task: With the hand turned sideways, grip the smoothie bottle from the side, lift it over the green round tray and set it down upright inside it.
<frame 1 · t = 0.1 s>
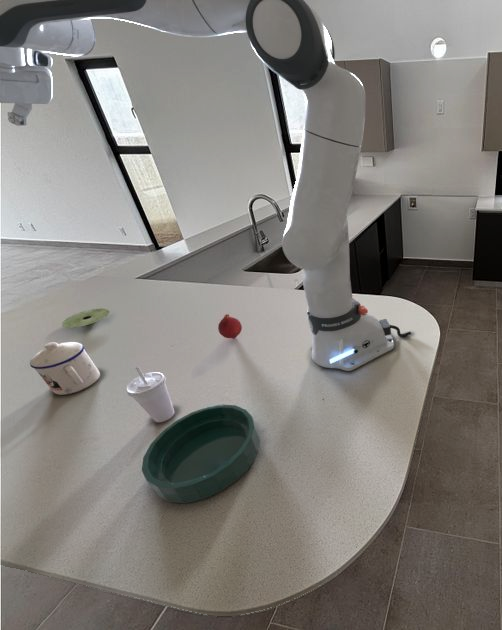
onion: (234, 338, 97), on the worktop
green round tray: (210, 458, 63), on the worktop
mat: (89, 323, 104), on the worktop
smoothie: (164, 416, 72), on the worktop
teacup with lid: (80, 385, 80), on the worktop
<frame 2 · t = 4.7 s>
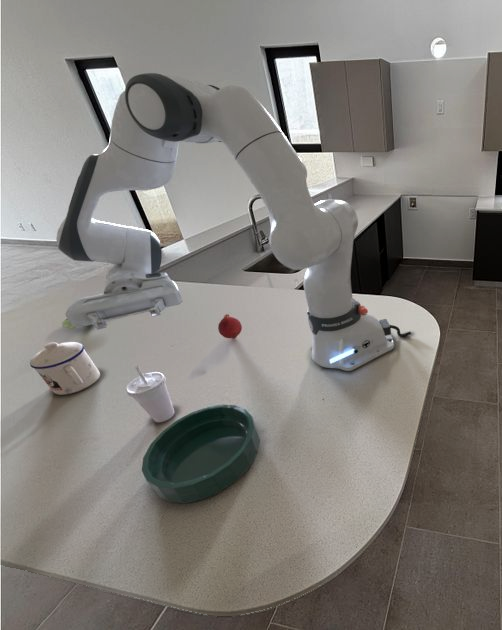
hand: (128, 319, 71), 18 cm above the worktop, tool horizontal, fingers open, 8 cm apart
nothing on the worktop moved.
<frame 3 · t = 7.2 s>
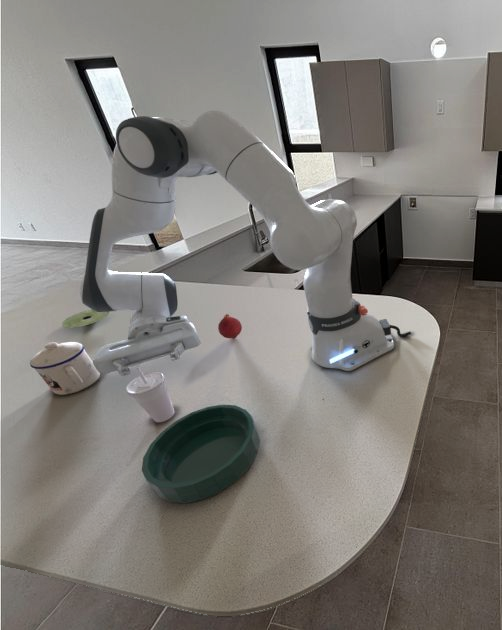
hand: (150, 364, 74), 8 cm above the worktop, tool horizontal, fingers open, 8 cm apart
nothing on the worktop moved.
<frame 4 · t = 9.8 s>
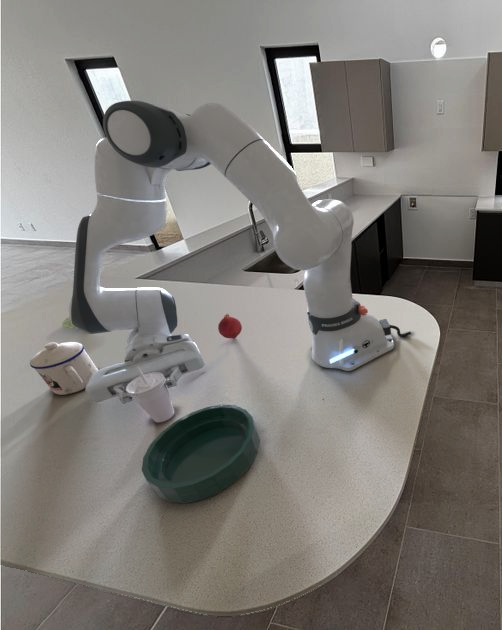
hand: (149, 392, 67), 8 cm above the worktop, tool horizontal, fingers closed on smoothie, 6 cm apart
smoothie: (164, 416, 72), on the worktop, touching gripper
everything else where it was.
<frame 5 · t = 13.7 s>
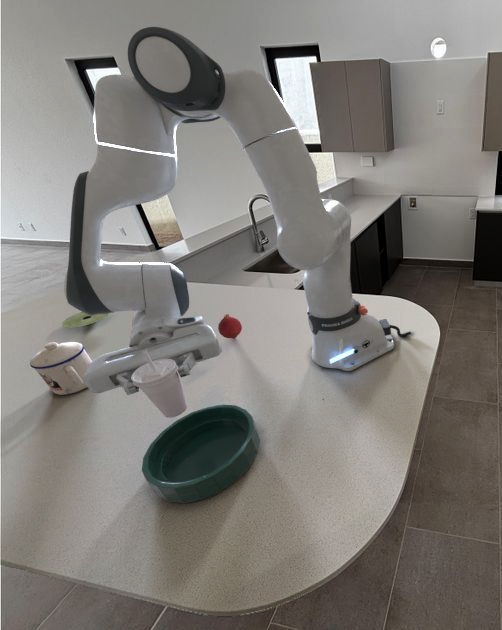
hand: (158, 381, 57), 17 cm above the worktop, tool horizontal, fingers closed on smoothie, 6 cm apart
smoothie: (176, 410, 61), point 9 cm above the worktop, touching gripper
everything else where it was.
when the fingers open (8 cm above the worktop, at t = 17.6 s): smoothie stays where it is, resting on green round tray.
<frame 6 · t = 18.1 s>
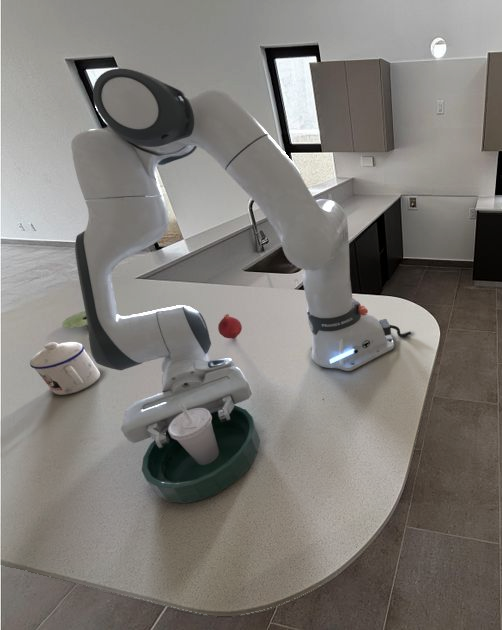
hand: (195, 430, 58), 9 cm above the worktop, tool horizontal, fingers open, 8 cm apart
smoothie: (208, 456, 63), resting on green round tray
everything else where it was.
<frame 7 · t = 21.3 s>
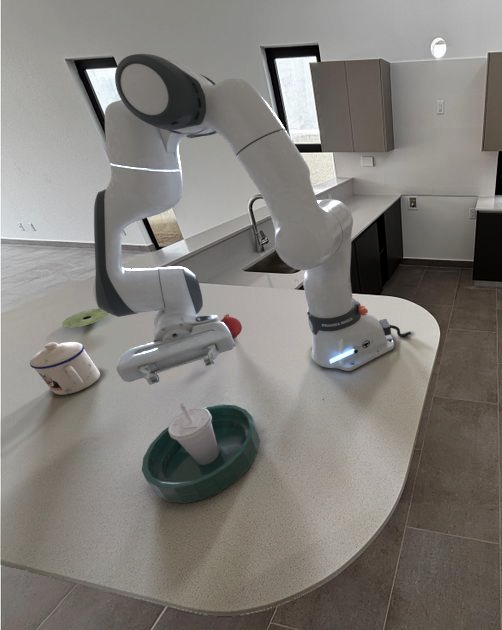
hand: (181, 371, 65), 13 cm above the worktop, tool horizontal, fingers open, 8 cm apart
nothing on the worktop moved.
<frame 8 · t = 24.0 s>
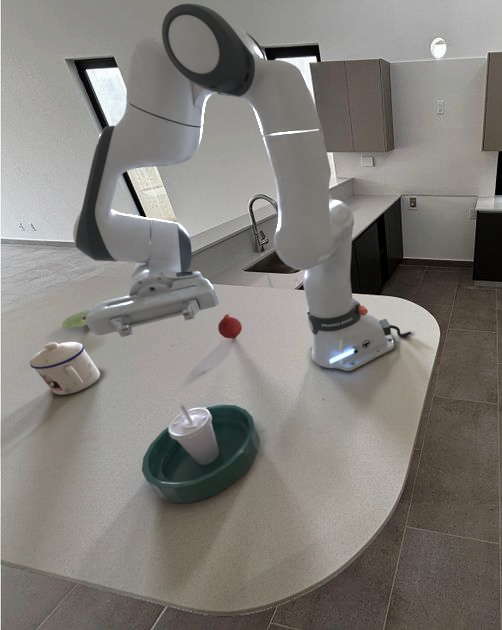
hand: (157, 324, 59), 24 cm above the worktop, tool horizontal, fingers open, 8 cm apart
nothing on the worktop moved.
at the end: smoothie inside the target area in the green round tray (0.2 cm from its centre), point 0.4 cm above the green round tray's base; smoothie tilted 0°; the gripper is holding nothing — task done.
